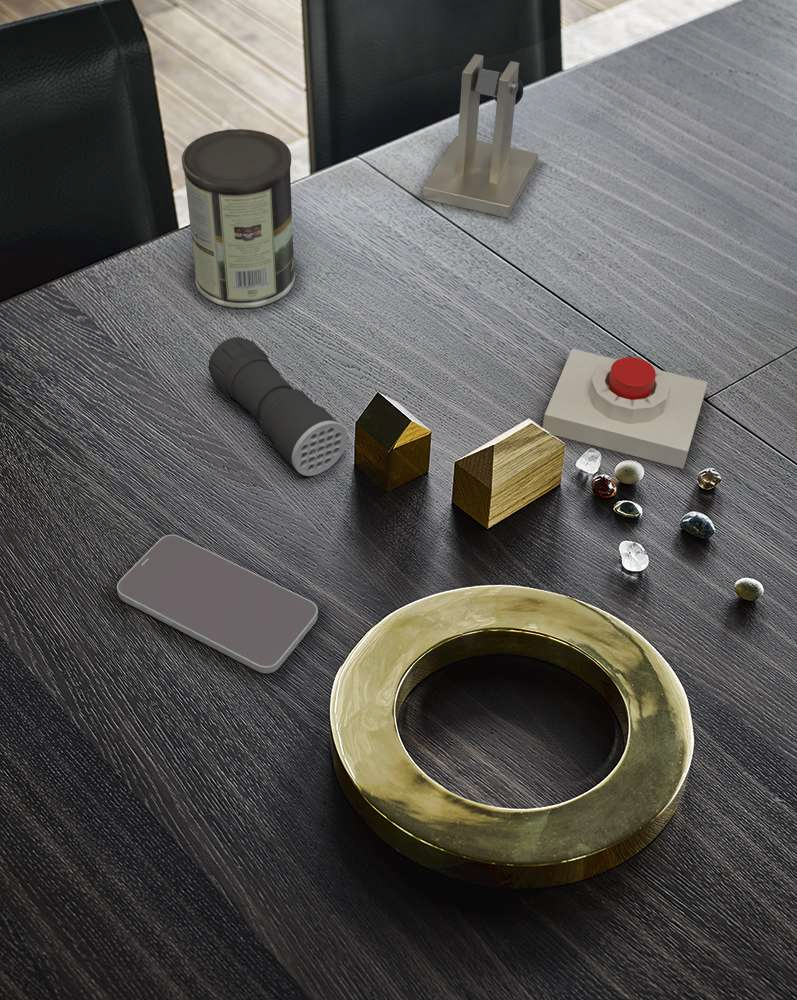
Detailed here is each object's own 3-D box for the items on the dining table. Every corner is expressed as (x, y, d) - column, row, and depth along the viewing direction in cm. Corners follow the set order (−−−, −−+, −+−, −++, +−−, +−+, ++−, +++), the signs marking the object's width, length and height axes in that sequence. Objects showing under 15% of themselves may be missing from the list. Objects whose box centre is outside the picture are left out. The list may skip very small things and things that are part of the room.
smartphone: (270, 672, 93) (110, 589, 98) (270, 680, 94) (111, 597, 99) (323, 606, 98) (168, 530, 102) (323, 613, 98) (169, 537, 103)
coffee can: (256, 238, 133) (250, 117, 123) (315, 284, 128) (313, 162, 118) (174, 272, 129) (160, 149, 119) (231, 322, 123) (221, 198, 113)
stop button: (656, 377, 114) (660, 363, 113) (647, 405, 111) (650, 390, 110) (613, 367, 115) (616, 352, 114) (603, 394, 112) (606, 379, 111)
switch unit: (455, 146, 148) (463, 34, 138) (537, 164, 146) (551, 51, 136) (422, 199, 140) (428, 83, 130) (508, 218, 138) (521, 102, 128)
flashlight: (204, 388, 116) (199, 343, 113) (254, 367, 119) (251, 322, 115) (295, 485, 108) (293, 439, 104) (347, 460, 110) (347, 414, 106)
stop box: (703, 399, 118) (712, 366, 115) (683, 469, 111) (692, 436, 108) (568, 366, 120) (574, 333, 118) (541, 432, 114) (546, 399, 111)
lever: (492, 104, 146) (499, 72, 145) (522, 110, 145) (529, 78, 144) (467, 96, 134) (474, 61, 133) (499, 102, 133) (507, 67, 132)
